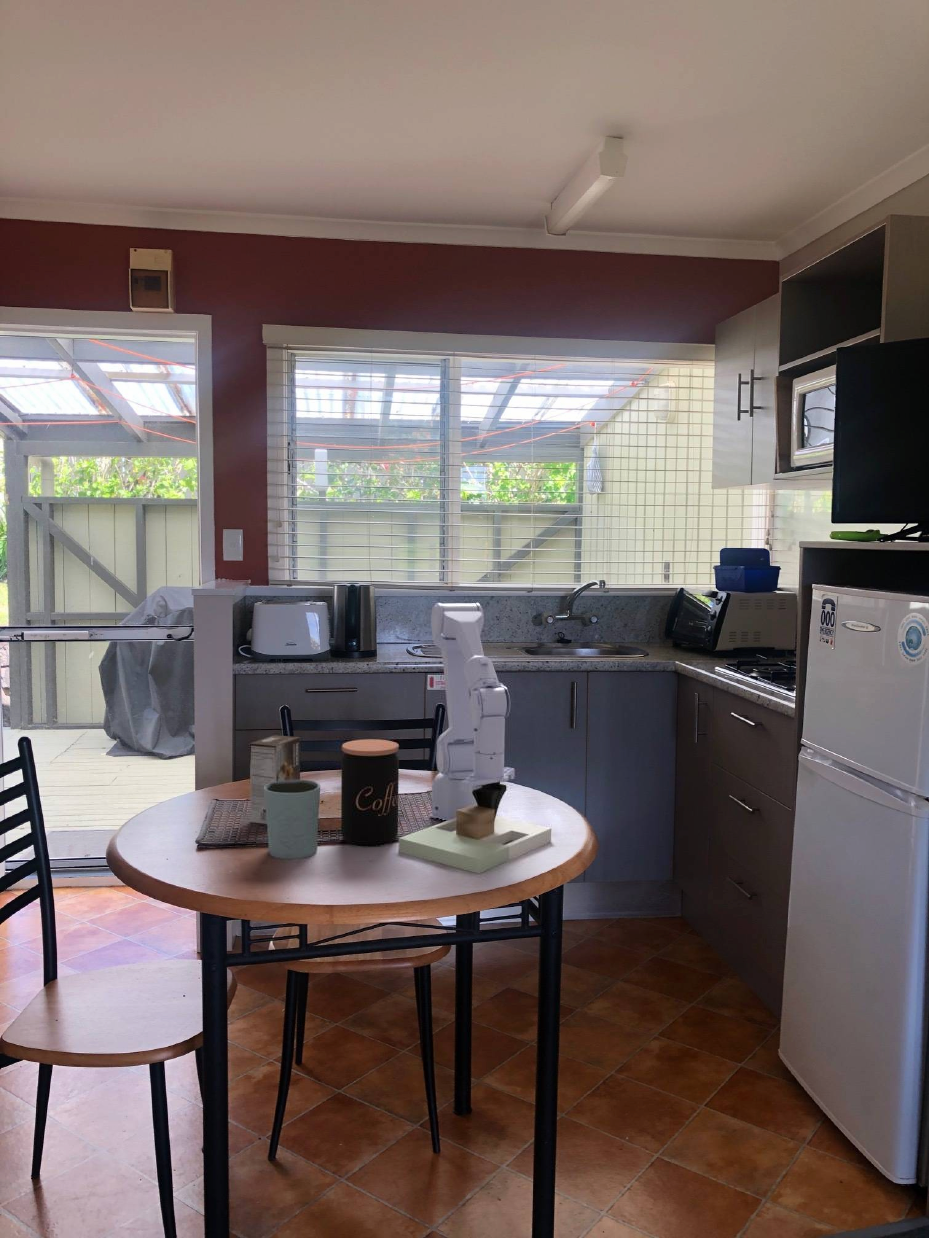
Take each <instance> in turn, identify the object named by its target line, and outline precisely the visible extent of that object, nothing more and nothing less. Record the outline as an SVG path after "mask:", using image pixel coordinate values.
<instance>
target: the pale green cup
mask: <svg viewBox="0 0 929 1238" xmlns="http://www.w3.org/2000/svg"><path fill="white" fill-rule="evenodd" d="M263 789H264V799H265V805H266V820H267V824H266V826H267V840H268V843H267V844H268V851H269V852H268V853H269V854H270V856H271V857H273V858H276V859H277V858H278V859H285V860H286V859H287V860H298V859H304V858H308V857H311V856H313V855H315V854H316V852H317V851H318V845H319V844H318V839H319V836H318V831H319V830H318V829H319V815H320V814H319V813H320V801H321V784H320V783H318V782H317V781H314V780H307V779H300V780H283V781H277V782H273V783H269V784H267V785H265V786H264V788H263Z"/></svg>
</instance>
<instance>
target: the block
mask: <svg viewBox="0 0 929 1238" xmlns="http://www.w3.org/2000/svg"><path fill="white" fill-rule="evenodd" d="M494 815H495V809H490V808H486V807H481V806H476V805H470V806H468V807H465V808H462V809H459V810H457V815H456V835H460V836H464V837H468V838H473V839H477V840H479V839H482V838H484V837H487V836H489V835H491V834H494Z"/></svg>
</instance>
